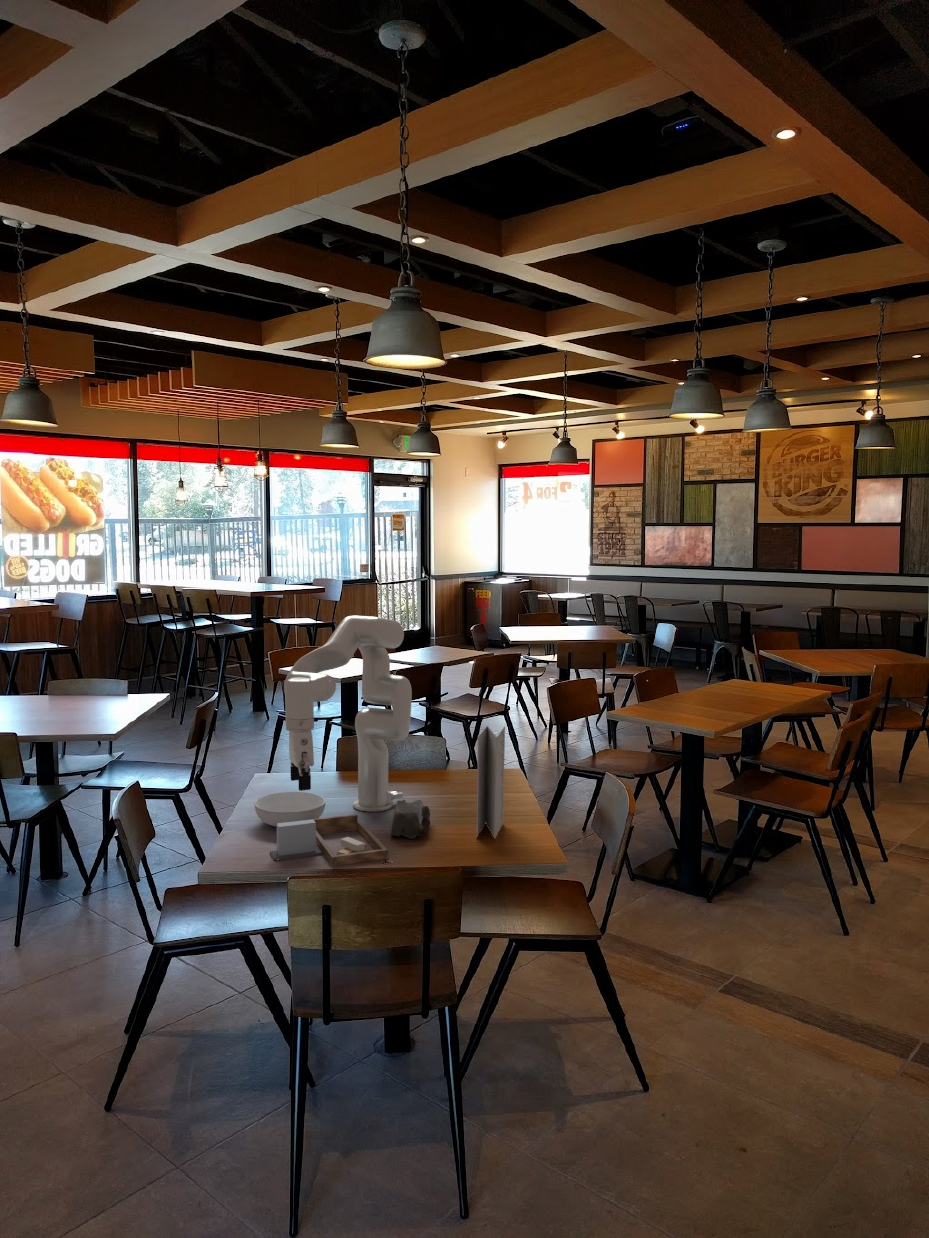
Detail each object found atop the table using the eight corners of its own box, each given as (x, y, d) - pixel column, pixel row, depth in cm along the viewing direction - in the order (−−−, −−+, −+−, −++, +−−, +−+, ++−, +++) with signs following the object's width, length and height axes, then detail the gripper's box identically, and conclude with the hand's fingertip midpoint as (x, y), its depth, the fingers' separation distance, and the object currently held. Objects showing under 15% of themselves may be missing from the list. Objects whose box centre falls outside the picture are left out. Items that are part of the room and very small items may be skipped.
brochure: (495, 840, 259) (497, 737, 256) (476, 838, 260) (477, 736, 257) (503, 824, 273) (505, 726, 270) (485, 822, 274) (486, 725, 271)
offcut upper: (340, 845, 249) (340, 839, 248) (347, 843, 250) (347, 836, 250) (357, 851, 244) (357, 845, 244) (364, 849, 246) (364, 843, 246)
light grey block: (313, 847, 250) (313, 819, 249) (315, 851, 247) (315, 822, 246) (276, 852, 246) (276, 823, 245) (279, 855, 243) (278, 826, 242)
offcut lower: (358, 849, 252) (358, 841, 252) (366, 851, 250) (366, 843, 250) (337, 859, 244) (337, 851, 244) (346, 861, 243) (346, 853, 242)
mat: (317, 847, 252) (317, 845, 252) (322, 854, 246) (322, 852, 246) (270, 853, 247) (270, 851, 246) (274, 860, 241) (274, 858, 241)
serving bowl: (330, 831, 265) (330, 808, 264) (257, 837, 259) (256, 814, 258) (320, 810, 285) (320, 788, 284) (252, 815, 279) (252, 793, 278)
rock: (429, 843, 256) (429, 816, 255) (389, 843, 256) (389, 815, 255) (431, 822, 275) (431, 797, 274) (393, 822, 274) (393, 796, 274)
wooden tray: (360, 828, 268) (360, 813, 267) (388, 858, 244) (388, 842, 243) (308, 834, 262) (308, 819, 261) (332, 866, 238) (332, 849, 237)
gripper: (321, 729, 239) (321, 792, 241) (306, 715, 255) (306, 774, 257) (293, 731, 236) (293, 795, 238) (279, 717, 252) (280, 777, 254)
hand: (300, 784), depth 248 cm, fingers open, 9 cm apart
